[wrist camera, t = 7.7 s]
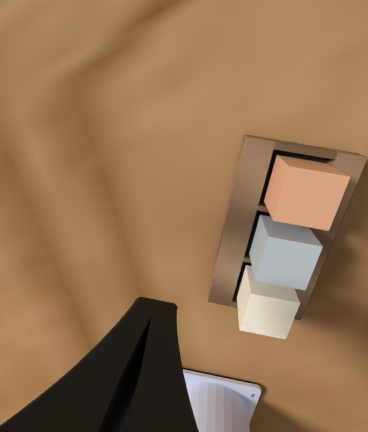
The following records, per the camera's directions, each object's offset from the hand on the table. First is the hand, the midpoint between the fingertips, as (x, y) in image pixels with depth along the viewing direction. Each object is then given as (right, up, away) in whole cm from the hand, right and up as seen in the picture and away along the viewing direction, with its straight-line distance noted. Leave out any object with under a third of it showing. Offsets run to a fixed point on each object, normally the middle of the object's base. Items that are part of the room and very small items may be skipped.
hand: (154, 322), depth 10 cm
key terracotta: (+7, +6, +6) cm, 11 cm away
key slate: (+7, +2, +8) cm, 11 cm away
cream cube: (+6, -1, +9) cm, 11 cm away
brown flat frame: (+7, +3, +9) cm, 12 cm away
